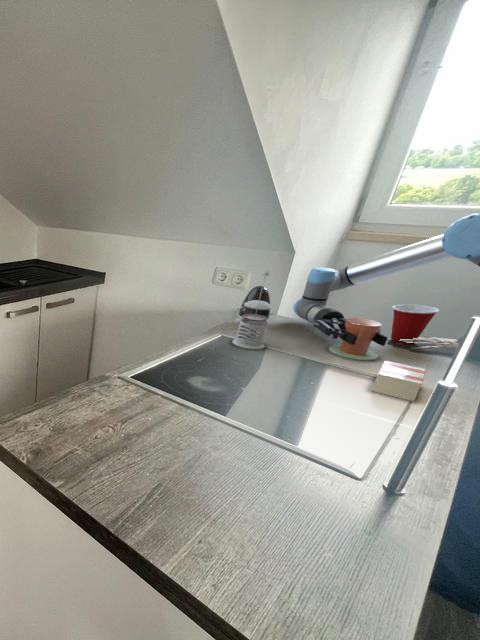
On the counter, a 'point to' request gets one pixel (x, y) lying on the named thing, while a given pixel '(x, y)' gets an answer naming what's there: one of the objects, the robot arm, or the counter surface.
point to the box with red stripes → (399, 380)
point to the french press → (252, 324)
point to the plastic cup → (410, 321)
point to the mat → (368, 356)
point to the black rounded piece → (255, 295)
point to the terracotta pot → (360, 335)
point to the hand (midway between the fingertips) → (369, 341)
